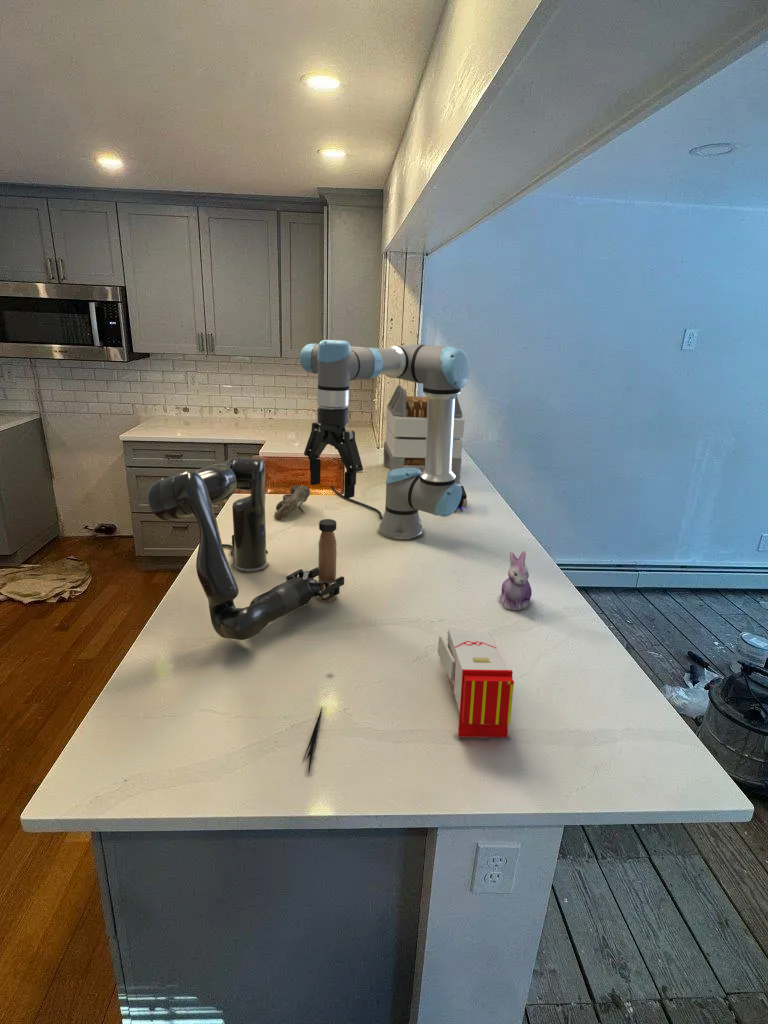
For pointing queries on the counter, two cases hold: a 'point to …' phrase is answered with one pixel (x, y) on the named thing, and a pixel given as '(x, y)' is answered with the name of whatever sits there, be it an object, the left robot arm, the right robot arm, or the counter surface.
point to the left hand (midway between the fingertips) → (331, 575)
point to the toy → (478, 682)
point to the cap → (327, 525)
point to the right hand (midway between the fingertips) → (331, 490)
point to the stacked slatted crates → (415, 432)
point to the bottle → (327, 559)
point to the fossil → (292, 501)
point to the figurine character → (462, 500)
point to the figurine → (516, 584)
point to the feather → (313, 740)
